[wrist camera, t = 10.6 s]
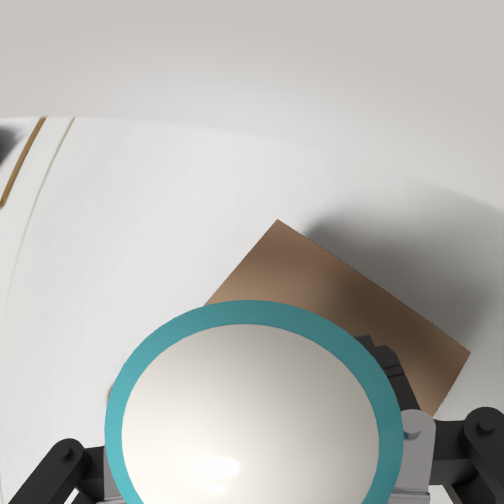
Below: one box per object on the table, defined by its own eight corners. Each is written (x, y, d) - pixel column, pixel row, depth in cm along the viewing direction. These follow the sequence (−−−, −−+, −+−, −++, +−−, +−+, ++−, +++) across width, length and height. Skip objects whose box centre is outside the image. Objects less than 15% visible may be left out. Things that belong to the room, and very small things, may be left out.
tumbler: (277, 330, 15) (224, 243, 6) (367, 397, 13) (462, 412, 4) (205, 414, 14) (63, 436, 5) (291, 482, 12) (258, 608, 3)
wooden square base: (284, 252, 24) (277, 219, 19) (439, 360, 18) (470, 352, 14) (146, 414, 20) (108, 417, 16) (292, 534, 15) (286, 567, 11)
